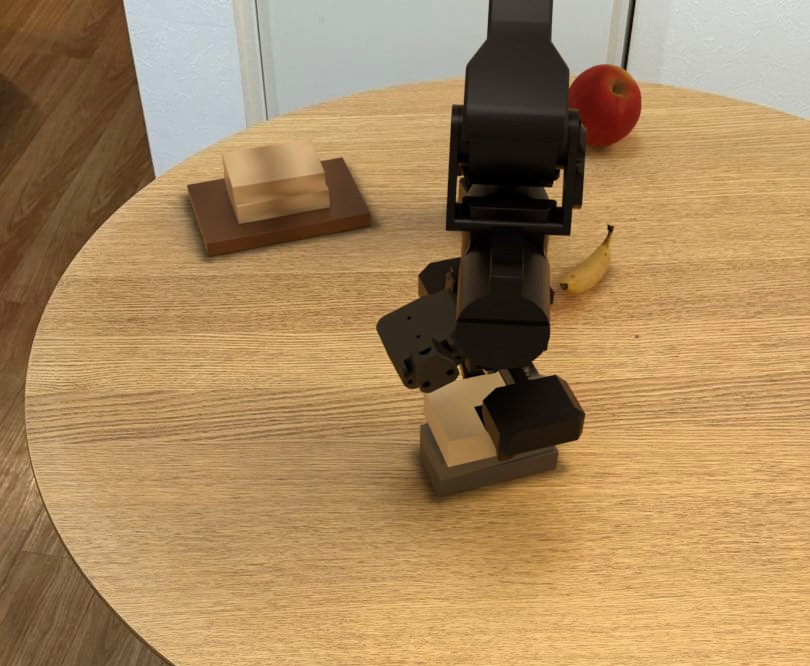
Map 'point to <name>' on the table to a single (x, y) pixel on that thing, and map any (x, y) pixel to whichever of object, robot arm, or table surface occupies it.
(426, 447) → the grey books
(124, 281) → the table surface
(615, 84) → the apple
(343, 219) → the shelf board
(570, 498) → the table surface
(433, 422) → the cream book
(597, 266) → the banana
